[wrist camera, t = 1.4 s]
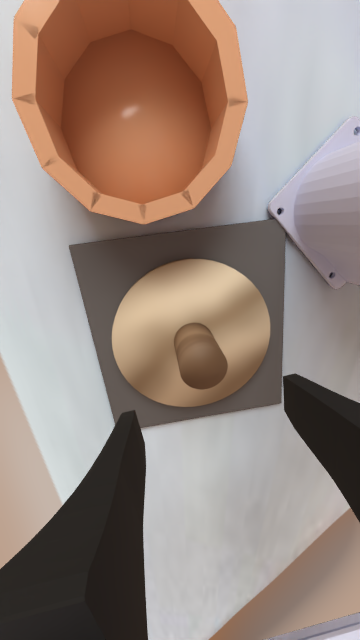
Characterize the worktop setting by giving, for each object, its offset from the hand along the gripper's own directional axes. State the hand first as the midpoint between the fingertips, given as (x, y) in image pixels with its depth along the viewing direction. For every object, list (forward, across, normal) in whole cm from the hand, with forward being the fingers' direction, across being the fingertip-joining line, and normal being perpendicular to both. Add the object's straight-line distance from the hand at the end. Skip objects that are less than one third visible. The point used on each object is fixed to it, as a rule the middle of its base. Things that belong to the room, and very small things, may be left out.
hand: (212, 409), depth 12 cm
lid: (+10, -1, +1) cm, 10 cm away
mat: (+10, -1, +1) cm, 10 cm away
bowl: (+10, 0, -14) cm, 18 cm away
